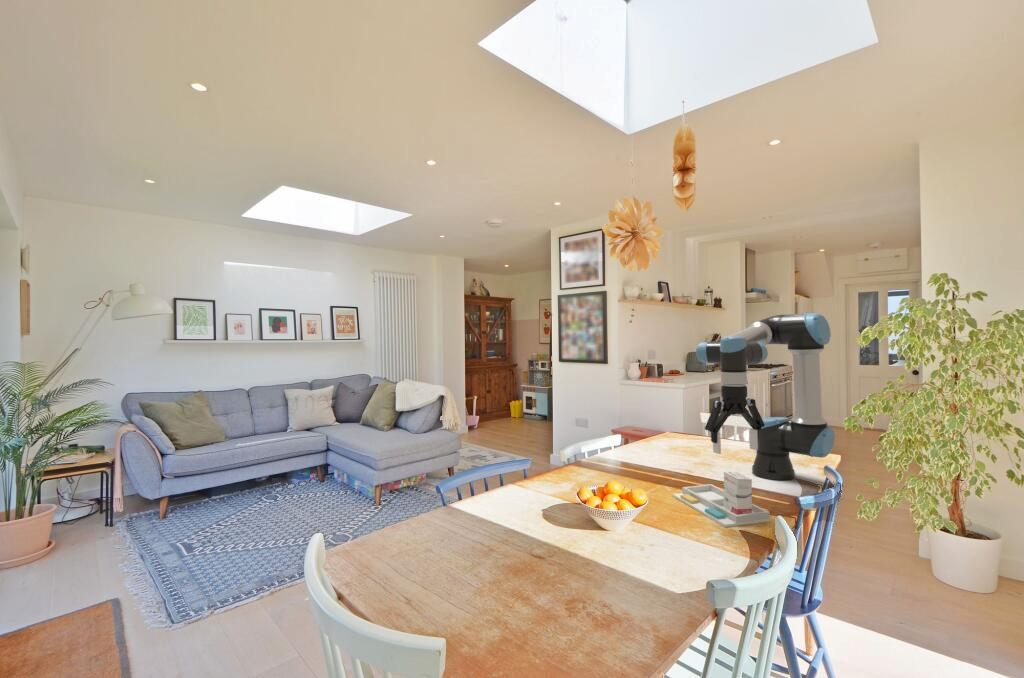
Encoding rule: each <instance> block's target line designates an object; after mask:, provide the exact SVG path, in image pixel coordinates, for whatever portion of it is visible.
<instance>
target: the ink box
mask: <svg viewBox="0 0 1024 678" xmlns="http://www.w3.org/2000/svg"><path fill="white" fill-rule="evenodd" d="M752 487H753V480H752V479H751V478H749V477H747V476H746V475H744V474H742V473H740V472H738V471H725V472H723V490H724V508H725V509H727V510H729V511H730V512H732V513H734V514H736V515H740V514H748V513H752V504H753V503H752V499H753V497H752V495H753V490H752V489H753V488H752Z"/></svg>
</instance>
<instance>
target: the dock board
mask: <svg viewBox="0 0 1024 678" xmlns="http://www.w3.org/2000/svg"><path fill="white" fill-rule="evenodd" d="M672 498H675V499H676V500H678V501H680V502H681V503H683V504H685V505H686V506H688V507H690V508H691V509H694V510H695V511H697V512H698V513H700V514H702V515H703V516H705V517H706V518H708V519H711V520H712V521H714V522H715V523H717V524H719V525H720V526H722V527H724V528H730V527H736V526H737V527H738V526H743V525H745V526H746V525H751V524H757V523H766V522H770V521H771V512H770V511H769V510H767V509H765V508H762V507H760V506H758V505H756V504H754V503H752V513H748V514H740V515H736V514H734V513H732V512H730V511H729V510H727V509H725V508H724V488H723V489H722V488H720V487H718V486H716V485H714V484H712V483H708V484H699V485H693V486H682V487H681V492H680V493H672Z"/></svg>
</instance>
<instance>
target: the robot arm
mask: <svg viewBox="0 0 1024 678" xmlns="http://www.w3.org/2000/svg"><path fill="white" fill-rule="evenodd" d="M831 336H832V334H831V328H830V325H829V322H828V320H827V319H826V317H825V316H824V315H822V314H820V313H811V312H810V313H809V312H807V313H794V314H778V315H773V316H769V317H766V318H763V319H760V320H758V321H755V322H753V323H751V324H749V326H748V327H747V328H745V329H742V330H740V331H736V332H734V333H731V334H729V335H727V336H724V337H722V338H720V339H717V340H714V341H702V342H699V343H698V345H697V346H696V349H695V354H696V359H697V360H698V361H699V362H700V363H706V364H720V383H721V384H722V385H721V387H720V391H721V393H720V394H721V397H722V401H719V400H714V401H713V404H712V409H711V412H710V414H709V417H708V420H707V422H706V424H705V427H704V430H705V431H707V432H710V439H711V440H710V442H711V443H712V452H713V453H716V454H718V455H721V454H722V452H721V451H722V446H721V445H722V444H721V443H722V441H721V440H722V439H721V437H722V436H721V432H720V430H721V428H722V427H723V426H724V424H725V422H726V421H727V420H728V418H729V417H731V415H732V416H733V415H741V416H742V417H743V419H745V421H746V422H747V423H748V426H750V428H749V429H748V430H749V431H748V432H749V433H748V435H749V437H748V440H749V449H751V450H754V451H756V454H755V458H754V461H753V465H752V467H751V473H752V474H753V475H755V477H758V478H762V479H766V480H767V479H768V480H773V481H789V480H793V479H795V478H796V471H795V469H794V467H793V463H792V461H791V458H790V453H792V454H797V455H802V456H807V457H808V456H809V457H811V458H820V459H821V458H825V457H827V456H828V455H830V453H831V451H832V450H833V447H834V443H835V438H836V437H835V431H834V429H833V428H832V427H830V426H828V421H827V420H826V419H825V418H824V417H823V411H822V410H823V409H822V388H821V387H822V385H821V365H820V364H821V362H820V359H821V357H820V355H821V354H820V353H821V352H823V351H824V350H825V345H828V344H829V343H830V342H831V341H830V340H831ZM766 345H787V350H788V351H789V353H791V354H792V366H793V367H792V371H793V392H794V393H793V394H794V395H793V396H794V412H795V414H794V416H793V417H792V418H791V419H789V418H788V417H785V416H770V417H762V415H761V414H760V412H759V408H757V404H756V400H755V399H754V398H747V397H748V386H747V384H748V377H747V376H748V371H747V366H748V365H750V366H751V365H759V364H762V363H763V362H765V361H766V360H767V359H768V355H769V354H768V353H769V352H768V347H766ZM747 408H748V409H747Z"/></svg>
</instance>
